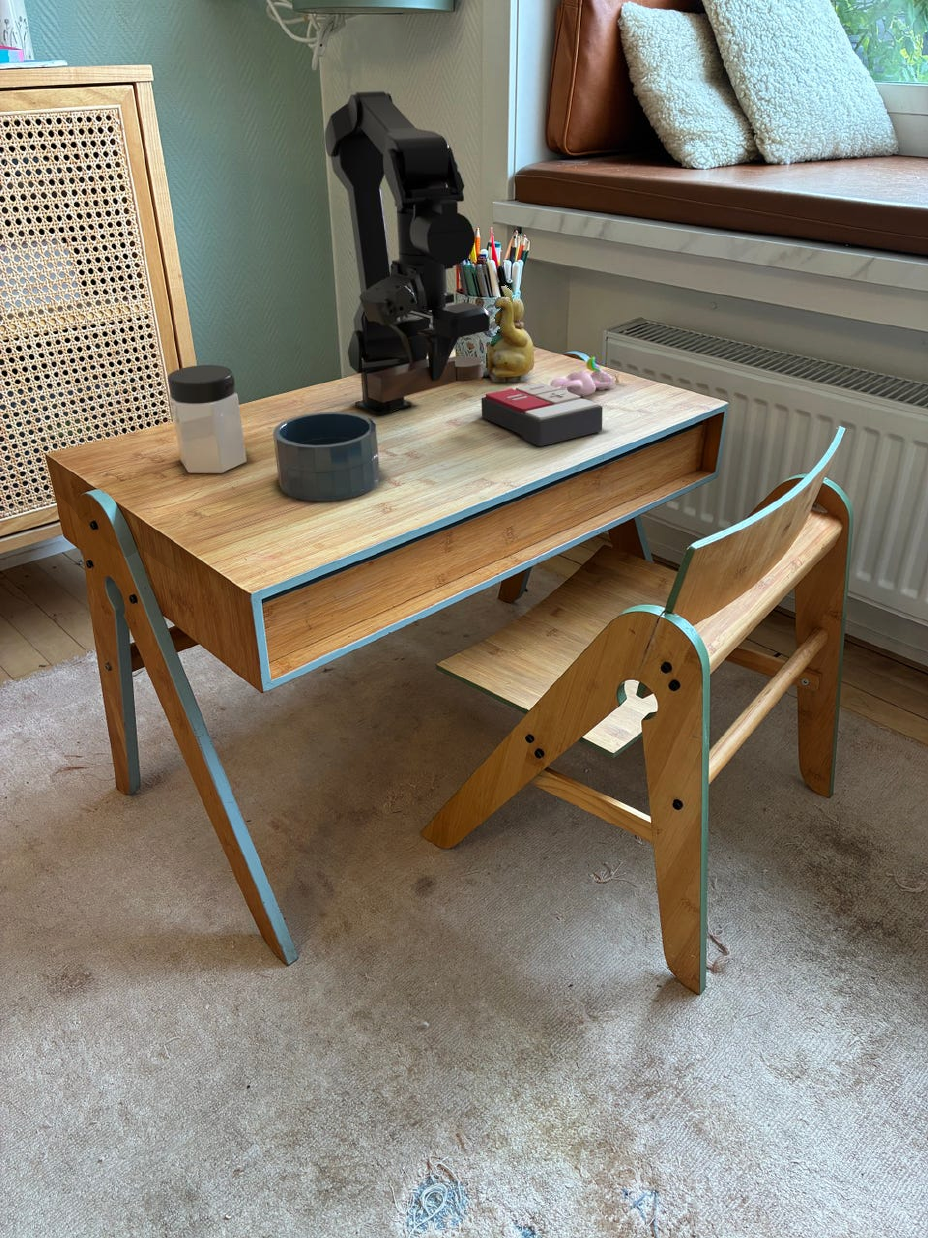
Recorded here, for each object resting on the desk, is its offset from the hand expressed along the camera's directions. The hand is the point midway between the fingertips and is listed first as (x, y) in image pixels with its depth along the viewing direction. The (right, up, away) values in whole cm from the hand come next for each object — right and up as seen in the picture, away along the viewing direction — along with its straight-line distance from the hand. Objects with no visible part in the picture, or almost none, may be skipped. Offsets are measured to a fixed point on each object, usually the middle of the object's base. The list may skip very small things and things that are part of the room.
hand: (427, 377), depth 127 cm
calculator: (+16, -3, +14) cm, 21 cm away
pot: (-12, -14, -2) cm, 19 cm away
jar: (-29, -10, +4) cm, 31 cm away
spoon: (0, -1, 0) cm, 1 cm away
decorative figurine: (+12, +8, +34) cm, 37 cm away
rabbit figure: (+23, +3, +25) cm, 34 cm away
